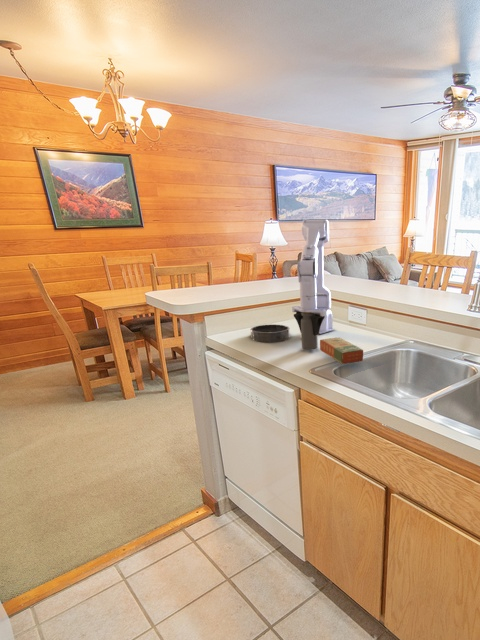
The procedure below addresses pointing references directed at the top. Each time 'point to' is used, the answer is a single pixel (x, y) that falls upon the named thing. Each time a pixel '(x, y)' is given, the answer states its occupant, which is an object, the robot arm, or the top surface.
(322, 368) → the top surface
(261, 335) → the pan
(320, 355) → the top surface
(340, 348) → the carton
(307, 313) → the bottle
